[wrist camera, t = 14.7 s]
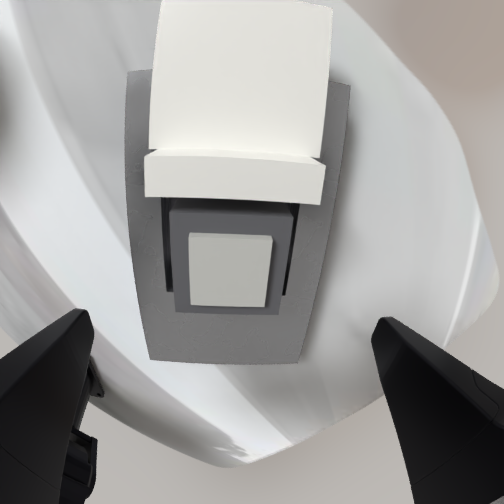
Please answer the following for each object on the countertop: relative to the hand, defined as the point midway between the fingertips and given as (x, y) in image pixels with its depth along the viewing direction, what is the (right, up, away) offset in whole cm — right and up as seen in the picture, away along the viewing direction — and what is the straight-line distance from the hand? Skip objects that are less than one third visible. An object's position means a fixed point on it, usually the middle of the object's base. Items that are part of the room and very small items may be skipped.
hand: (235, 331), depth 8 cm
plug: (-1, +4, +8) cm, 9 cm away
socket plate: (-1, +4, +8) cm, 9 cm away
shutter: (0, +9, +3) cm, 9 cm away
